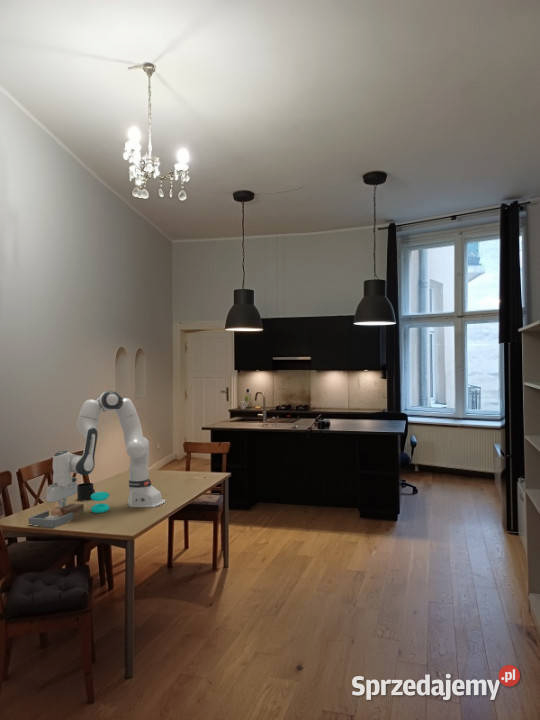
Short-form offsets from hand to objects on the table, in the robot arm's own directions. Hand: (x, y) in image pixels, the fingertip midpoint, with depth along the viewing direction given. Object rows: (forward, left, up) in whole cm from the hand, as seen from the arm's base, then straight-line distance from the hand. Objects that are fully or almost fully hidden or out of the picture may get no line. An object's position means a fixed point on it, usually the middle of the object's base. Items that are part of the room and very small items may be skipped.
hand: (62, 506), depth 285 cm
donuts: (-12, -16, -6) cm, 21 cm away
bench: (0, -4, -6) cm, 8 cm away
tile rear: (0, +3, -2) cm, 4 cm away
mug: (+13, -36, -6) cm, 39 cm away
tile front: (0, +8, -3) cm, 8 cm away
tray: (0, +9, -6) cm, 11 cm away
